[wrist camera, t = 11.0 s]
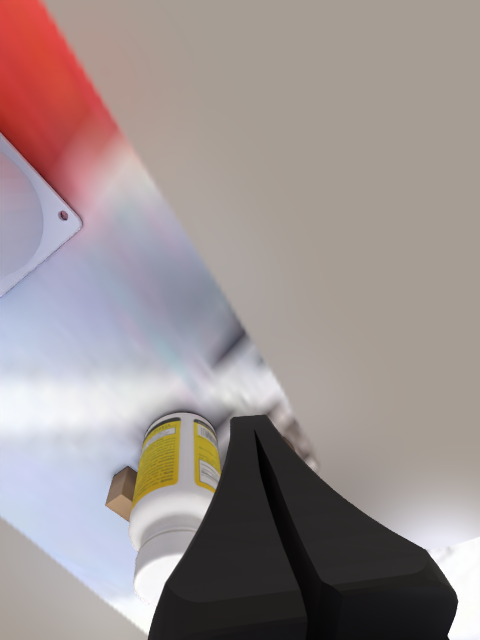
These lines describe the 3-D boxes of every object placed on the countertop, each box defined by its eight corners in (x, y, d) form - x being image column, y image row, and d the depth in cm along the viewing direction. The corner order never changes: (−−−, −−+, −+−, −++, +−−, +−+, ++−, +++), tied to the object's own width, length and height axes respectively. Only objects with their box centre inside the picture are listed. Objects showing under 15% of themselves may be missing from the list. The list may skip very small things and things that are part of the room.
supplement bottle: (137, 463, 25) (107, 617, 16) (151, 404, 23) (126, 538, 14) (207, 471, 26) (215, 618, 17) (225, 416, 25) (245, 546, 16)
